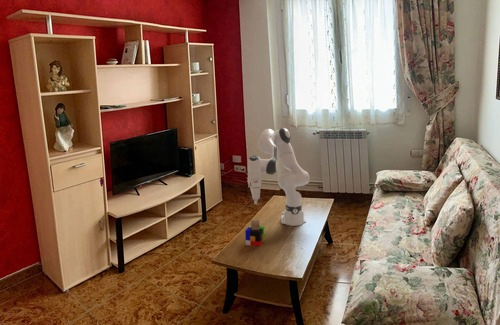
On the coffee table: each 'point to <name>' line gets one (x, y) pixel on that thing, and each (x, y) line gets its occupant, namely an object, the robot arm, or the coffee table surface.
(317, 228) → the coffee table surface
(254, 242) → the puzzle toy
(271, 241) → the coffee table surface
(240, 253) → the coffee table surface
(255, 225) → the walnut block
